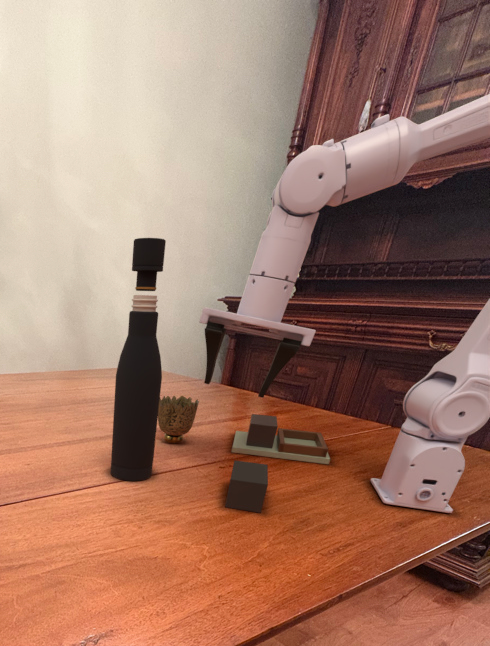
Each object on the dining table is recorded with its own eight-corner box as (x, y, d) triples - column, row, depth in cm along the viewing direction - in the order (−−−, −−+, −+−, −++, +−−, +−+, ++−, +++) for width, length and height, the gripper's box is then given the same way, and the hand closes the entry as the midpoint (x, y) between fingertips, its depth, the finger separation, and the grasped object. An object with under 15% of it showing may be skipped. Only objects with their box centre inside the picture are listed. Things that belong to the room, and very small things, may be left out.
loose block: (260, 513, 55) (268, 484, 53) (224, 507, 56) (230, 479, 54) (261, 490, 61) (267, 464, 59) (229, 486, 63) (234, 460, 61)
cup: (146, 438, 83) (150, 396, 79) (177, 434, 86) (182, 394, 82) (168, 449, 77) (173, 404, 73) (200, 445, 80) (207, 401, 76)
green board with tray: (328, 464, 72) (338, 435, 70) (231, 452, 77) (236, 424, 74) (321, 445, 82) (329, 419, 80) (235, 435, 87) (240, 410, 84)
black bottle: (150, 483, 63) (176, 236, 48) (107, 479, 64) (120, 236, 49) (152, 468, 68) (176, 242, 54) (113, 465, 69) (126, 242, 55)
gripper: (328, 292, 55) (284, 397, 62) (218, 271, 58) (188, 374, 66) (335, 289, 49) (286, 406, 56) (212, 266, 53) (180, 379, 60)
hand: (233, 389), depth 61 cm, fingers open, 7 cm apart
